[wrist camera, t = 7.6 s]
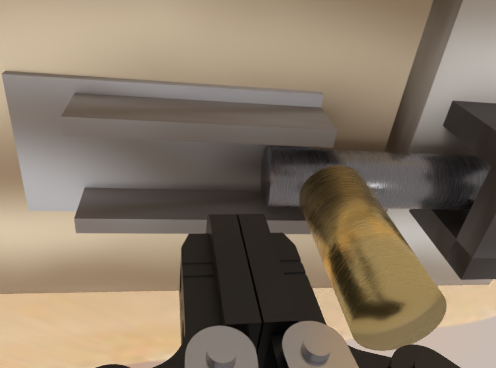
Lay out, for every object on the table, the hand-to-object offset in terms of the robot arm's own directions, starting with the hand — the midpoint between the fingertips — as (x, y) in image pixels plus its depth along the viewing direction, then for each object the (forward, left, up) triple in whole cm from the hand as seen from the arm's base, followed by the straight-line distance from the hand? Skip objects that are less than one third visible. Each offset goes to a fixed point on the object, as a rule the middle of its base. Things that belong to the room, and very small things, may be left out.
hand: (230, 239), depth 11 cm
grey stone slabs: (0, +1, -9) cm, 9 cm away
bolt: (0, +6, -4) cm, 8 cm away
